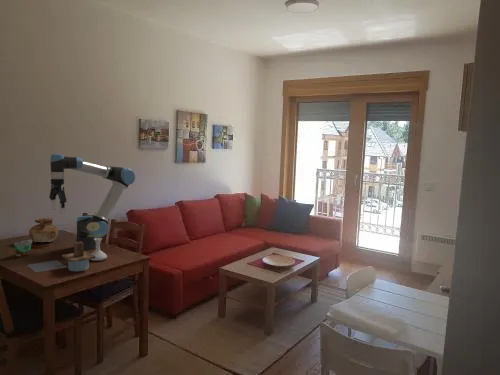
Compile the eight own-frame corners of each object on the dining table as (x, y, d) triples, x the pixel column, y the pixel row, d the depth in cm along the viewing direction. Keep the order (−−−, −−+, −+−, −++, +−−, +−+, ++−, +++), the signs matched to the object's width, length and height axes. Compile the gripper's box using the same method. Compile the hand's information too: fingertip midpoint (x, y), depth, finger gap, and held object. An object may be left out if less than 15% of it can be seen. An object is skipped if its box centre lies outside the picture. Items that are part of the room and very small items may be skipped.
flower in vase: (108, 257, 252) (109, 220, 249) (105, 262, 241) (105, 223, 238) (88, 256, 249) (88, 220, 247) (83, 262, 238) (83, 223, 236)
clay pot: (20, 238, 274) (30, 212, 279) (43, 243, 289) (52, 218, 294) (36, 242, 265) (46, 215, 269) (58, 247, 280) (68, 222, 285)
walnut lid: (85, 253, 234) (85, 238, 233) (95, 258, 225) (95, 243, 224) (62, 256, 224) (62, 241, 223) (71, 262, 215) (71, 246, 214)
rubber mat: (56, 260, 238) (56, 260, 238) (66, 267, 226) (66, 266, 226) (26, 265, 226) (26, 265, 226) (35, 273, 214) (35, 272, 214)
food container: (22, 258, 239) (22, 243, 238) (14, 257, 240) (13, 242, 239) (36, 253, 251) (36, 238, 250) (28, 252, 252) (28, 238, 251)
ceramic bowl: (84, 264, 233) (84, 254, 232) (91, 269, 225) (91, 258, 225) (65, 268, 225) (65, 257, 224) (72, 273, 217) (72, 261, 217)
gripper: (43, 176, 243) (43, 209, 245) (59, 180, 226) (60, 215, 229) (55, 176, 248) (55, 207, 251) (72, 180, 232) (72, 213, 235)
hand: (57, 211), depth 240 cm, fingers open, 13 cm apart
